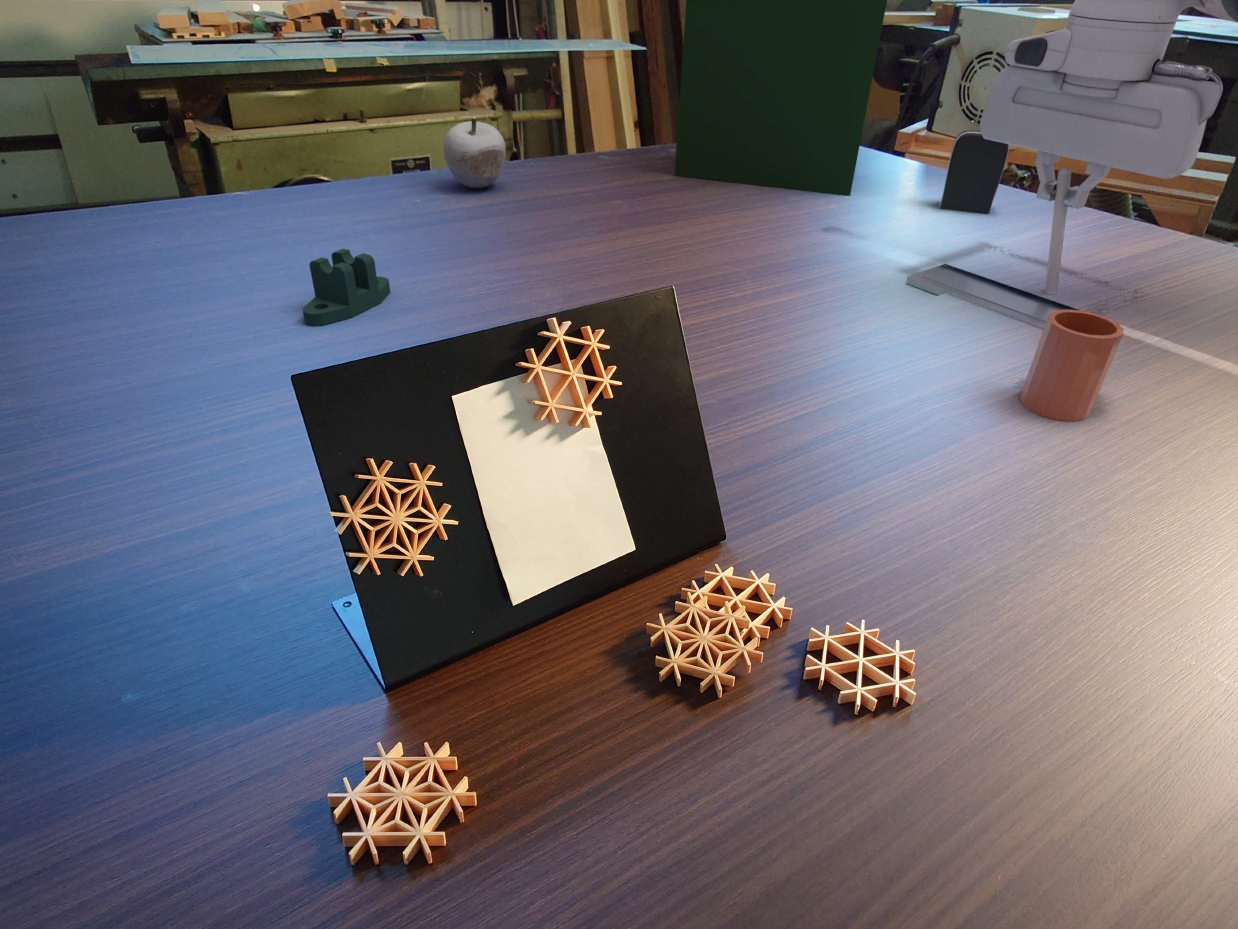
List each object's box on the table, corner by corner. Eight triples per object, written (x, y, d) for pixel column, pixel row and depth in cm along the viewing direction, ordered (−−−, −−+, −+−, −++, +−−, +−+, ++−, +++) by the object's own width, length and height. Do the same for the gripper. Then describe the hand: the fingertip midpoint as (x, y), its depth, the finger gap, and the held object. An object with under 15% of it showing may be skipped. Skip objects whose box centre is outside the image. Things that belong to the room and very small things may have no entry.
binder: (673, 176, 127) (689, -68, 109) (692, 155, 138) (710, -69, 121) (850, 195, 121) (898, -60, 103) (854, 171, 133) (898, -61, 115)
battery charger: (986, 216, 114) (1011, 130, 108) (988, 224, 111) (1013, 136, 104) (934, 211, 115) (956, 126, 109) (935, 218, 112) (957, 131, 106)
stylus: (1058, 295, 87) (1074, 166, 81) (1053, 298, 86) (1068, 167, 81) (1047, 294, 88) (1062, 166, 82) (1041, 296, 87) (1056, 167, 82)
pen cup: (1099, 414, 68) (1136, 327, 63) (1066, 434, 65) (1103, 343, 61) (1038, 389, 71) (1069, 304, 67) (1005, 406, 69) (1035, 319, 64)
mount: (369, 284, 87) (362, 238, 84) (402, 292, 85) (396, 245, 82) (292, 320, 79) (281, 270, 76) (326, 330, 77) (317, 279, 74)
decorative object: (480, 176, 124) (475, 105, 118) (519, 187, 119) (517, 115, 113) (434, 187, 118) (427, 113, 112) (473, 199, 113) (468, 124, 108)
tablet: (1132, 305, 88) (1135, 296, 88) (1057, 340, 80) (1060, 331, 79) (983, 256, 100) (986, 249, 99) (905, 283, 92) (907, 274, 91)
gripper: (1246, 67, 70) (1179, 224, 78) (1026, 38, 83) (988, 176, 91) (1216, 72, 67) (1149, 236, 75) (993, 41, 80) (955, 183, 88)
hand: (1059, 202), depth 83 cm, fingers closed on stylus, 1 cm apart
